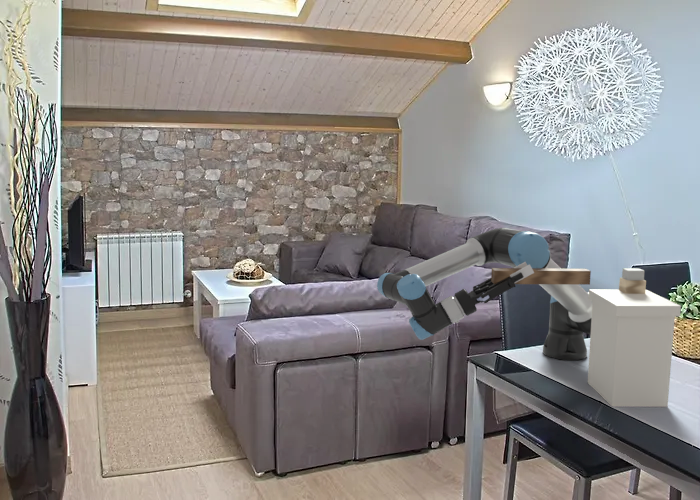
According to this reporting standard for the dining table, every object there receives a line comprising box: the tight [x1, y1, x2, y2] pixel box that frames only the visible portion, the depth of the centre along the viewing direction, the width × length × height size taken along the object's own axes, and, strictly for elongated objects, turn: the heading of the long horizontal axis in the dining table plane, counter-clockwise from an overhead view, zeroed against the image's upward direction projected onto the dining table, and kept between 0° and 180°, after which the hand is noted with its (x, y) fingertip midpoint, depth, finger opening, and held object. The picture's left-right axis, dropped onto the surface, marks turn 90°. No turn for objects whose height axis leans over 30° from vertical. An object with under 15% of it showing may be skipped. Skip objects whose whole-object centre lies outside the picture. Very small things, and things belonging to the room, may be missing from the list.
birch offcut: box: [618, 277, 647, 294], centre depth 208 cm, size 6×5×4 cm
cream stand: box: [587, 288, 682, 408], centre depth 203 cm, size 18×22×30 cm
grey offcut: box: [621, 267, 645, 280], centre depth 207 cm, size 5×4×3 cm
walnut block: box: [490, 267, 592, 286], centre depth 199 cm, size 28×4×4 cm, turn 91°
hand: (529, 267), depth 199 cm, fingers closed on walnut block, 4 cm apart
